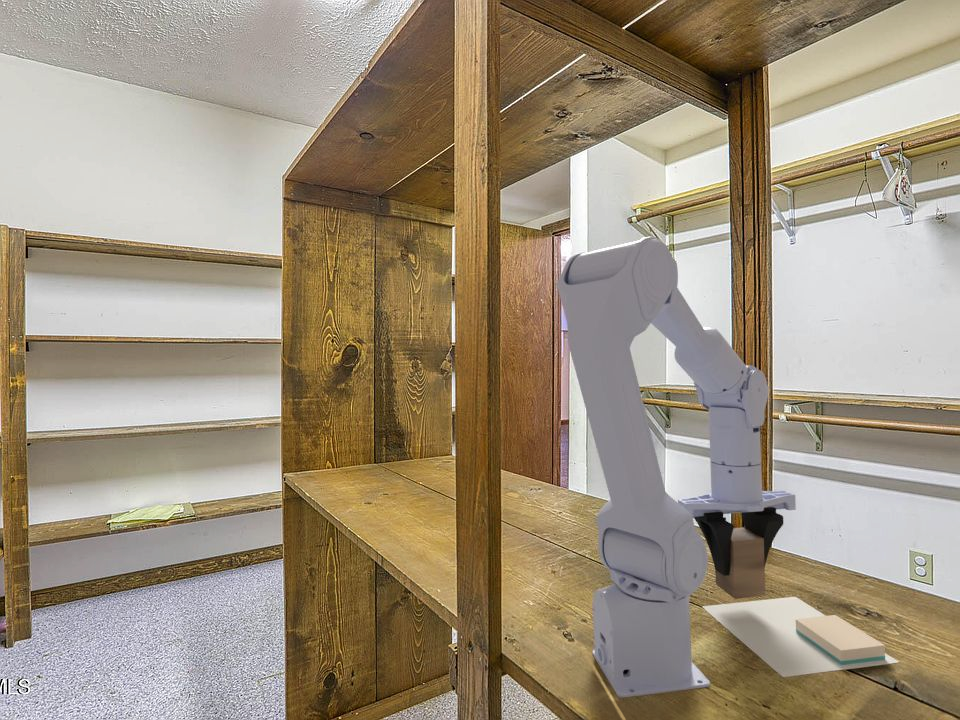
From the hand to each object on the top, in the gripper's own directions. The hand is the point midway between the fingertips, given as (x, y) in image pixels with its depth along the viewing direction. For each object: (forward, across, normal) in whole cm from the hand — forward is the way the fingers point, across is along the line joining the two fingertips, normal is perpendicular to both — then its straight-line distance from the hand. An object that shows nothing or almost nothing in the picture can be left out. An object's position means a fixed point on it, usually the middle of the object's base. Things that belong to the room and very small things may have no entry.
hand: (739, 570), depth 66 cm
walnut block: (+2, 0, 0) cm, 2 cm away
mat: (+5, +2, -6) cm, 8 cm away
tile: (+4, +6, -6) cm, 9 cm away
